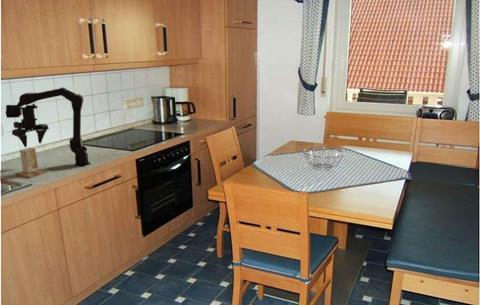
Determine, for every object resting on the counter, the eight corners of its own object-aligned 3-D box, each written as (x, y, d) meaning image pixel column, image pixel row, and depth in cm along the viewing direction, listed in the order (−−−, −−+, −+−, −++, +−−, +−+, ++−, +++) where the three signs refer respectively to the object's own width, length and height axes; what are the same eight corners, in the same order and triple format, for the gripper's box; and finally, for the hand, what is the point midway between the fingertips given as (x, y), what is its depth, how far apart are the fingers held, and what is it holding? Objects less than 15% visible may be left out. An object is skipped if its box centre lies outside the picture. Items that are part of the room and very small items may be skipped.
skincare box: (28, 173, 212) (24, 151, 208) (22, 172, 213) (18, 150, 210) (39, 170, 217) (35, 148, 214) (33, 169, 219) (29, 147, 215)
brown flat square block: (32, 171, 222) (32, 168, 221) (46, 173, 218) (45, 170, 217) (16, 177, 213) (15, 173, 212) (30, 179, 209) (29, 175, 208)
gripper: (33, 113, 229) (36, 140, 234) (2, 118, 213) (7, 147, 217) (47, 114, 225) (51, 141, 229) (17, 120, 209) (21, 149, 213)
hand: (32, 145), depth 222 cm, fingers open, 9 cm apart
